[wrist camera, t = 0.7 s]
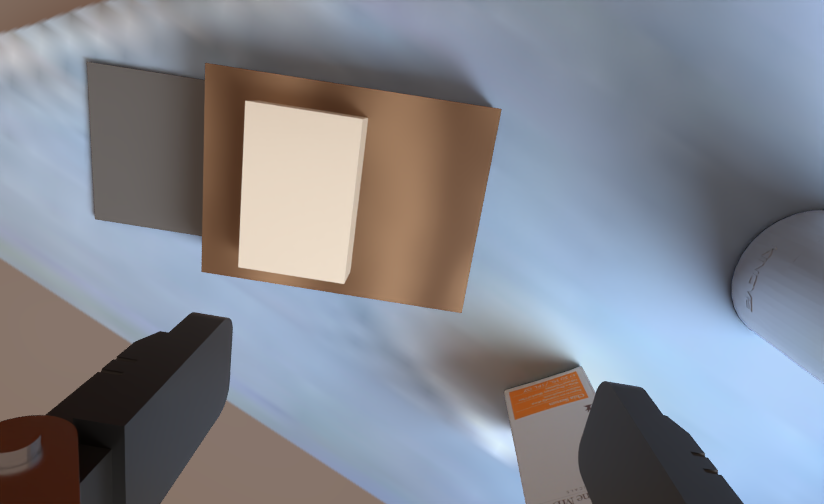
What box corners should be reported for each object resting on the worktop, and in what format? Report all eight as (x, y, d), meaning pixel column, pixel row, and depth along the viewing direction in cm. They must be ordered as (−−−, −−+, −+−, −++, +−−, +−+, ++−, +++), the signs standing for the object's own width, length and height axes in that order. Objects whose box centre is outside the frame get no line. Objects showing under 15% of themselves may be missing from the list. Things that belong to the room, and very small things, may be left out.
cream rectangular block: (368, 117, 26) (362, 119, 25) (350, 272, 29) (344, 284, 27) (259, 100, 26) (245, 100, 25) (251, 256, 29) (238, 267, 27)
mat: (226, 83, 30) (223, 83, 30) (221, 237, 33) (219, 238, 33) (91, 62, 30) (86, 61, 30) (98, 217, 33) (94, 219, 33)
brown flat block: (493, 107, 30) (501, 109, 26) (458, 288, 33) (461, 313, 30) (235, 67, 30) (205, 62, 26) (228, 252, 33) (201, 271, 30)
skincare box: (581, 362, 35) (650, 492, 23) (598, 410, 36) (673, 557, 24) (499, 388, 36) (528, 525, 24) (518, 435, 37) (555, 587, 25)
